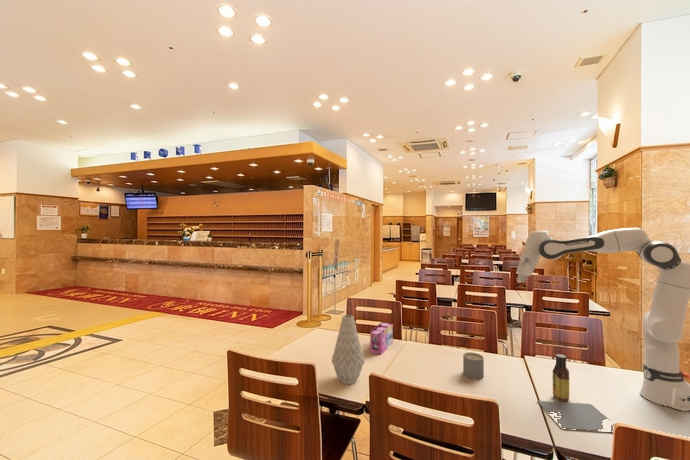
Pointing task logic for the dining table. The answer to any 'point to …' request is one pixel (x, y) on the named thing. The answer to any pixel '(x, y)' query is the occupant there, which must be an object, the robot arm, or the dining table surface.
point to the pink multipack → (381, 337)
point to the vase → (348, 352)
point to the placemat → (576, 415)
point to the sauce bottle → (561, 379)
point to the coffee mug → (473, 365)
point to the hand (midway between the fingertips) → (520, 282)
